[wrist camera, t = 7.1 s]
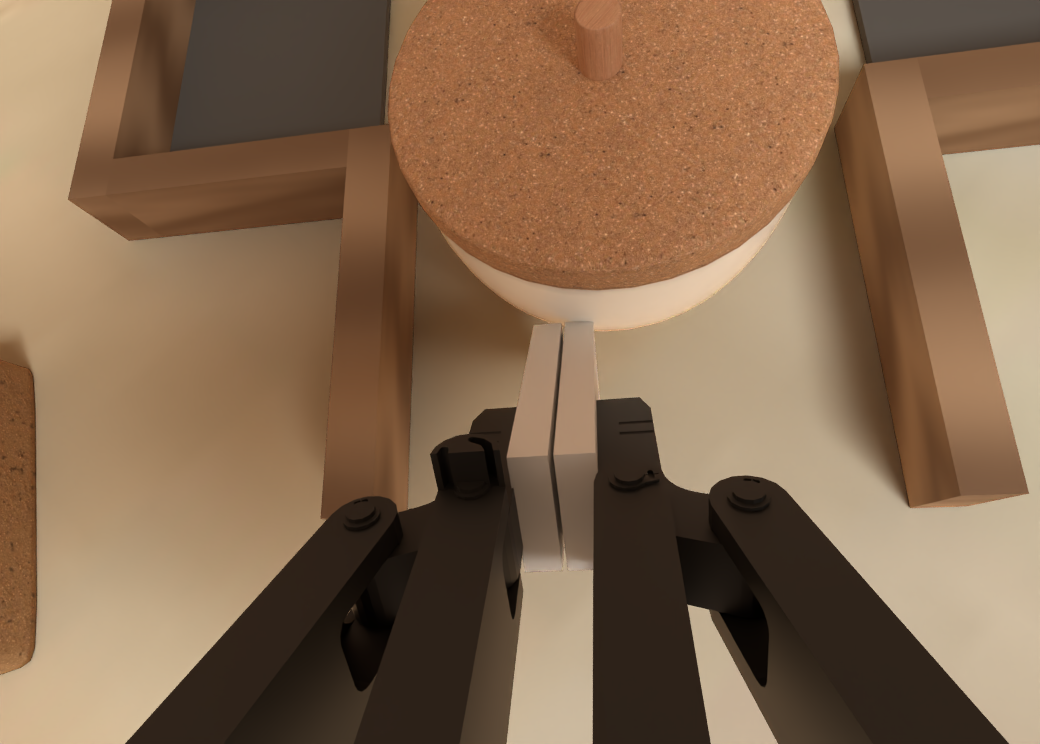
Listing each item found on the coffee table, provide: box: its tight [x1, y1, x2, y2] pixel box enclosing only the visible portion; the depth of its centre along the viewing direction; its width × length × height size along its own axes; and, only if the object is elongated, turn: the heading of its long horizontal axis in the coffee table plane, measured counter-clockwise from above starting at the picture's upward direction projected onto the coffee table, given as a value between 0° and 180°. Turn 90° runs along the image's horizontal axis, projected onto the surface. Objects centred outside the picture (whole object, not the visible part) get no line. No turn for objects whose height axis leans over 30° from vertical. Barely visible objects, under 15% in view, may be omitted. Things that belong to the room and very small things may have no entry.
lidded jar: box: [388, 0, 839, 331], centre depth 18 cm, size 11×11×9 cm
